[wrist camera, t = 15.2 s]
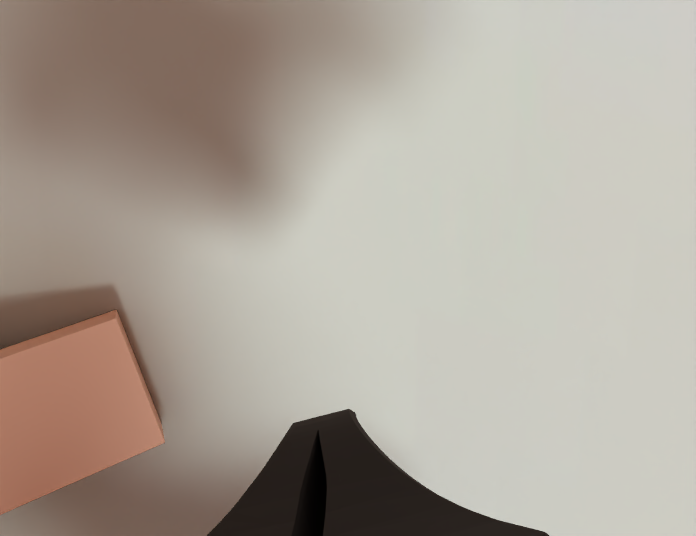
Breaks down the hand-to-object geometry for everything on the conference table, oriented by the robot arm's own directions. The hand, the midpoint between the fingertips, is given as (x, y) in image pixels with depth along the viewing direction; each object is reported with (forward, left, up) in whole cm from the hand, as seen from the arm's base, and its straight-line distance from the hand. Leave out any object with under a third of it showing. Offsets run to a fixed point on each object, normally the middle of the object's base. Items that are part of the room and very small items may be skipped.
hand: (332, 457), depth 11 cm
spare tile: (+7, 0, -9) cm, 12 cm away
